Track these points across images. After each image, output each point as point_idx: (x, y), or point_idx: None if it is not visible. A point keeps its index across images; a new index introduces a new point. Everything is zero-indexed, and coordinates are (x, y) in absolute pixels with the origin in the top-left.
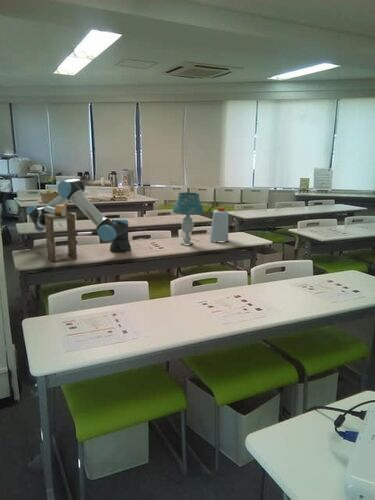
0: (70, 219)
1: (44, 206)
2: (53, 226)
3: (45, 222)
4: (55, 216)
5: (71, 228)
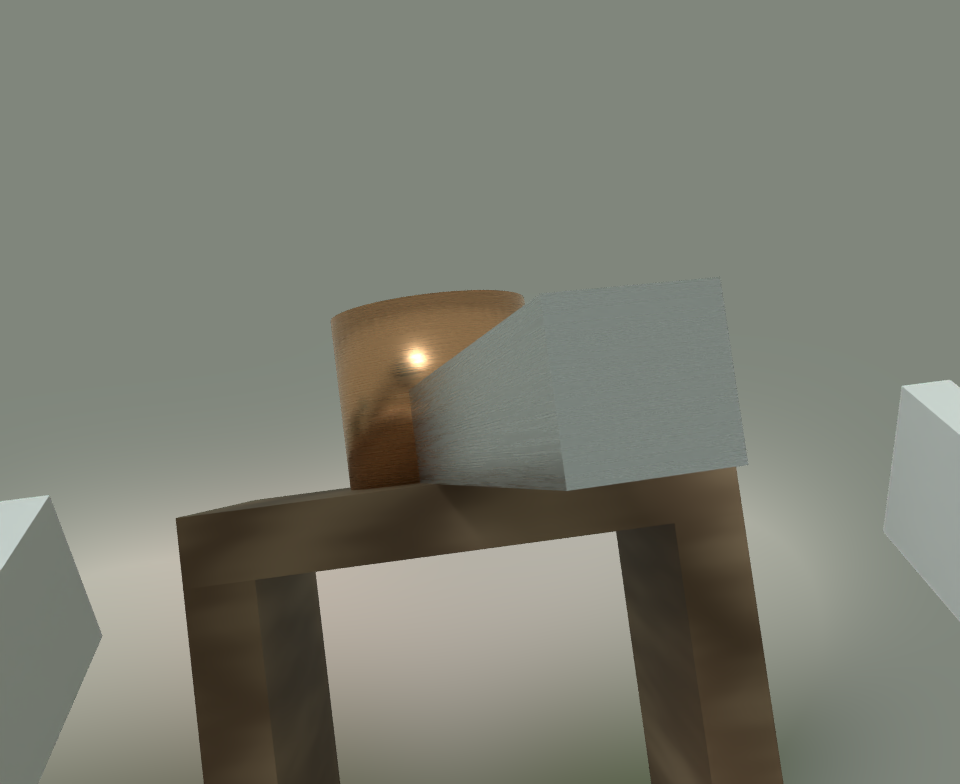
0: (305, 592)
1: (715, 287)
2: (628, 613)
3: (755, 631)
4: None
5: (327, 746)
